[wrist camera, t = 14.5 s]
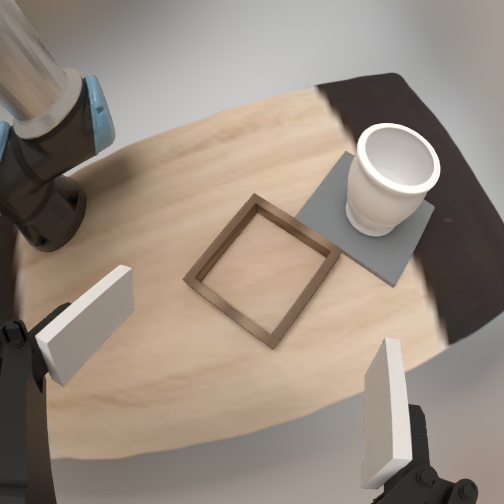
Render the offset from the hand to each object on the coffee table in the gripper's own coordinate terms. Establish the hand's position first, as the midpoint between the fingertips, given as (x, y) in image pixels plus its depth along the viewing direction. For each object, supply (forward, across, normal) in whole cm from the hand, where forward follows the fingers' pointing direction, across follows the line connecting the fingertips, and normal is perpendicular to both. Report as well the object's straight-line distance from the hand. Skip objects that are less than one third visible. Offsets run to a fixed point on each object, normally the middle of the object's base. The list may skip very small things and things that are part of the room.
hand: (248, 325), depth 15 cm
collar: (+28, -4, -13) cm, 31 cm away
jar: (+36, +10, -3) cm, 38 cm away
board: (+37, +10, -4) cm, 39 cm away
